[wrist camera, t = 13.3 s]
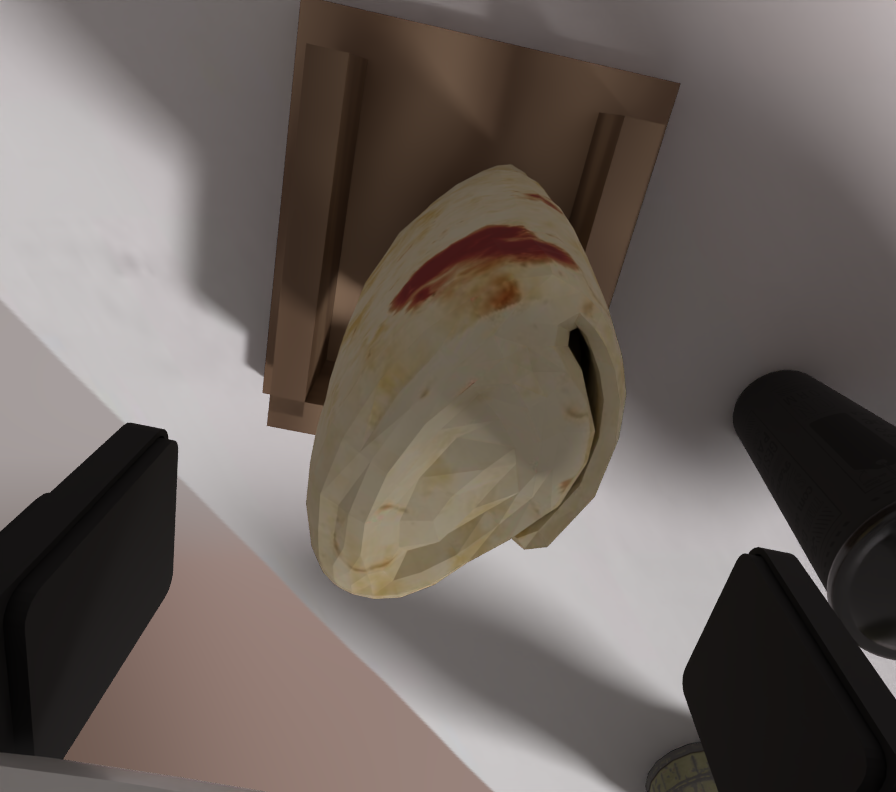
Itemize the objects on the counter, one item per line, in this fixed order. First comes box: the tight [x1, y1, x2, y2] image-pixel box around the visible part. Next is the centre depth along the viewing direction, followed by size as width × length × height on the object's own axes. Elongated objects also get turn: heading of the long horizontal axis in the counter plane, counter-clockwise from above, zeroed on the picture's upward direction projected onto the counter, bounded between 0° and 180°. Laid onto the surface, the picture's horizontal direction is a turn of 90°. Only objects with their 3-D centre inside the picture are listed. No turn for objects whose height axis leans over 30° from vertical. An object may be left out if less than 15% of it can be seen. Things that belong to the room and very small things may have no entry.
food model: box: [306, 164, 626, 599], centre depth 22 cm, size 10×7×20 cm
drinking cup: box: [733, 370, 896, 660], centre depth 26 cm, size 8×8×20 cm
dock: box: [263, 0, 680, 435], centre depth 29 cm, size 16×18×6 cm
